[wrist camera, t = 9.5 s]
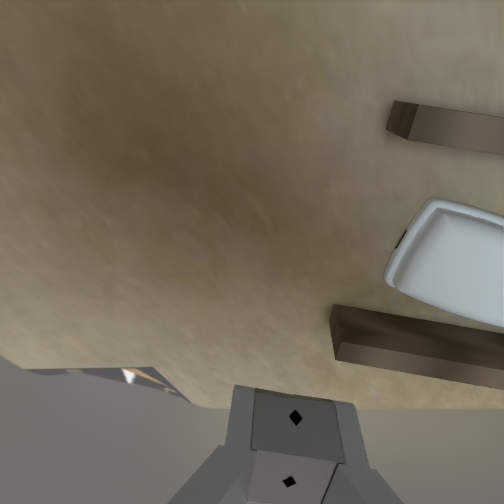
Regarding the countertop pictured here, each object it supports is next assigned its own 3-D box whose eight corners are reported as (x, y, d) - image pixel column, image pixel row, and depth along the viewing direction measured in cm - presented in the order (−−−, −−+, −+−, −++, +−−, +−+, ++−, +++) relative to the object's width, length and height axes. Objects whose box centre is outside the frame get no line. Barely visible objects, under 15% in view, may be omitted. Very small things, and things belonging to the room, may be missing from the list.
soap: (560, 236, 22) (596, 257, 19) (492, 319, 25) (516, 347, 22) (426, 187, 21) (445, 202, 19) (374, 278, 24) (384, 302, 22)
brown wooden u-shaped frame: (329, 321, 26) (335, 360, 22) (394, 100, 19) (418, 104, 15) (524, 355, 25) (563, 400, 22) (661, 142, 19) (749, 157, 15)
